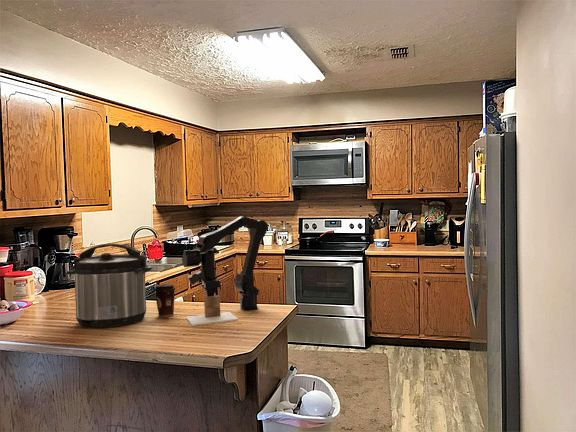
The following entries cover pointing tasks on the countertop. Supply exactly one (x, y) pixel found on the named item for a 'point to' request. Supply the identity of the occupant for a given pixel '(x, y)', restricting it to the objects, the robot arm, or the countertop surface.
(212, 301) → the walnut slab
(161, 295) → the coffee cup
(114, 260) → the pressure cooker
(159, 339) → the countertop surface
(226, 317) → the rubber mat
